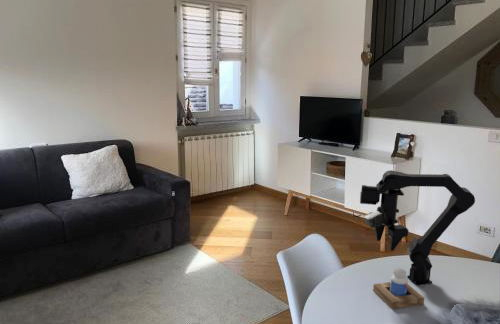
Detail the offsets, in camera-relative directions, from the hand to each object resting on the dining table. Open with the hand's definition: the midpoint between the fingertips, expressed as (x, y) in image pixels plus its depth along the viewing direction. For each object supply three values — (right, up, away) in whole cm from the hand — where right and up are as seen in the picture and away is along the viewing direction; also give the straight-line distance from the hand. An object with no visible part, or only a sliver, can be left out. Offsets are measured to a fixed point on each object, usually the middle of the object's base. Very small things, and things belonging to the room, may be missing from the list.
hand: (385, 245), depth 162 cm
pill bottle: (+1, -16, -12) cm, 20 cm away
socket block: (+1, -16, -12) cm, 20 cm away
